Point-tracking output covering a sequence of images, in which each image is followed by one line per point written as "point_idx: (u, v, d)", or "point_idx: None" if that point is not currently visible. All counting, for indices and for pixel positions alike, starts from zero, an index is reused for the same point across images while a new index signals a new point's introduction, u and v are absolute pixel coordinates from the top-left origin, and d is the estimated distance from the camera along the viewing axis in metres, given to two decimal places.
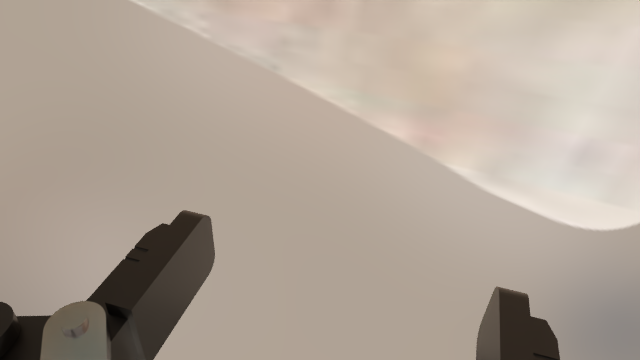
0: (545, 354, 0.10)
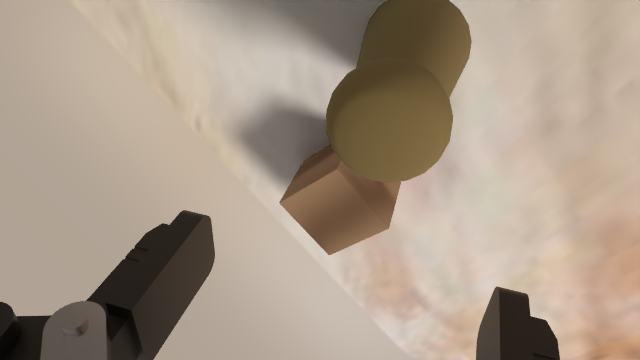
0: (545, 354, 0.10)
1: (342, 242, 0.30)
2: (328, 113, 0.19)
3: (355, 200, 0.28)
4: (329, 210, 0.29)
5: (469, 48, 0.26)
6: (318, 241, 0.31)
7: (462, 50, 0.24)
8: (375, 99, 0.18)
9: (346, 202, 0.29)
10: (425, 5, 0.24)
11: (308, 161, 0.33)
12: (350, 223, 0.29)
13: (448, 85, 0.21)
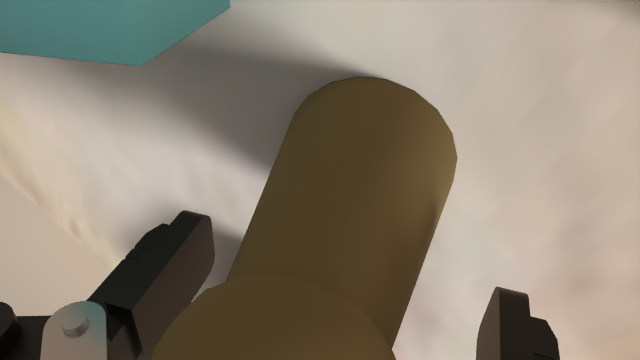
0: (545, 354, 0.10)
1: None
2: None
3: None
4: None
5: (453, 170, 0.16)
6: None
7: (439, 189, 0.14)
8: None
9: None
10: (375, 111, 0.14)
11: None
12: None
13: (407, 288, 0.11)
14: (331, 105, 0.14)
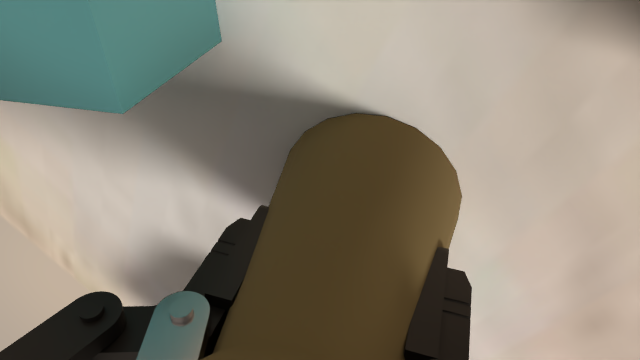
0: (458, 299, 0.12)
1: None
2: None
3: None
4: None
5: (458, 210, 0.15)
6: None
7: (444, 234, 0.13)
8: None
9: None
10: (375, 153, 0.13)
11: None
12: None
13: None
14: (328, 145, 0.14)
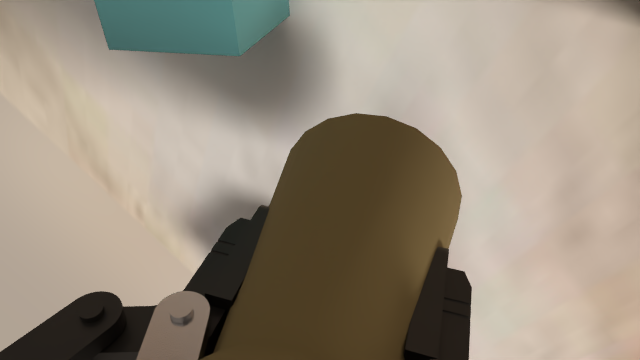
0: (458, 299, 0.12)
1: None
2: None
3: None
4: None
5: (458, 209, 0.15)
6: None
7: (443, 234, 0.13)
8: None
9: None
10: (374, 153, 0.13)
11: None
12: None
13: None
14: (328, 145, 0.14)
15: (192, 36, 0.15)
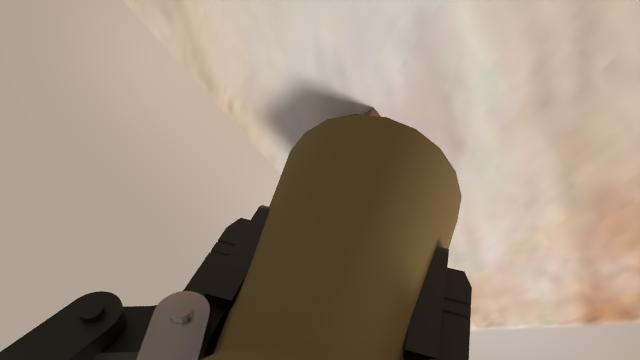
0: (458, 299, 0.12)
1: None
2: None
3: None
4: None
5: (457, 210, 0.15)
6: None
7: (443, 234, 0.13)
8: None
9: None
10: (374, 153, 0.13)
11: None
12: None
13: None
14: (328, 146, 0.14)
15: None
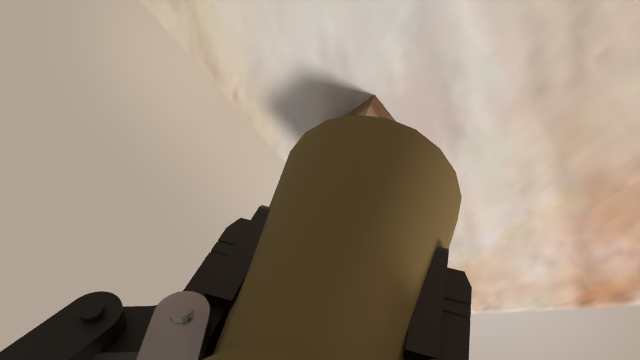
0: (458, 299, 0.12)
1: None
2: None
3: None
4: None
5: (458, 211, 0.15)
6: None
7: (443, 235, 0.13)
8: None
9: None
10: (374, 154, 0.13)
11: None
12: None
13: None
14: (328, 146, 0.14)
15: None
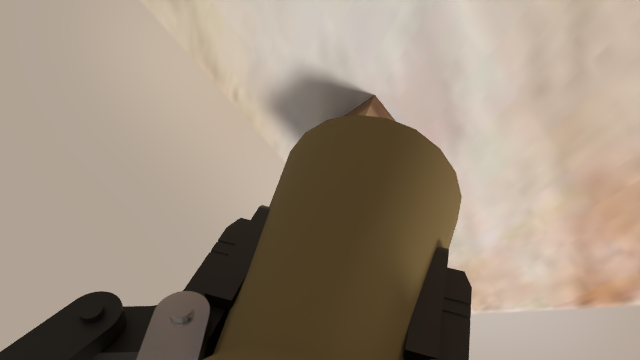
0: (458, 299, 0.12)
1: None
2: None
3: None
4: None
5: (458, 211, 0.15)
6: None
7: (443, 235, 0.13)
8: None
9: None
10: (374, 154, 0.13)
11: None
12: None
13: None
14: (328, 146, 0.14)
15: None
